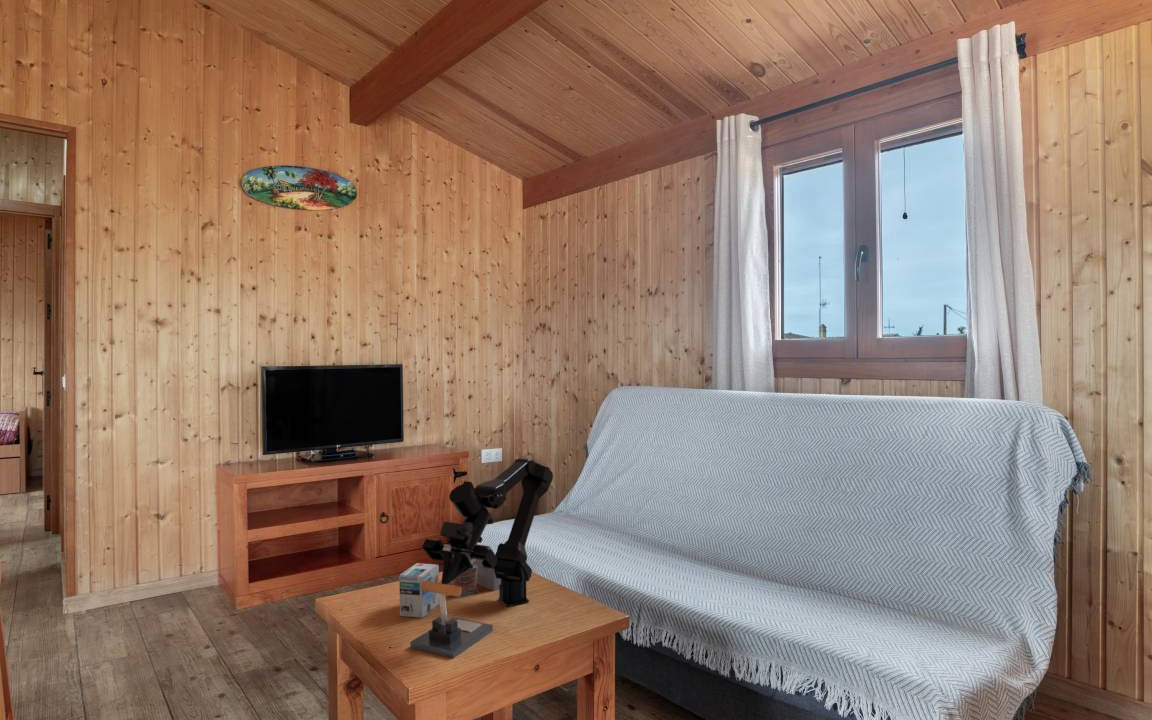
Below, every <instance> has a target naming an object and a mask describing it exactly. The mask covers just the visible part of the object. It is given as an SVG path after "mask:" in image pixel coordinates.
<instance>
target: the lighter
mask: <svg viewBox="0 0 1152 720" xmlns="http://www.w3.org/2000/svg"><path fill="white" fill-rule="evenodd" d="M473 563H475V560H474V562H473ZM477 569H478V566H477V565H473V568H472V569H468V570H466V571H465V572H463V573H462V574H460V575H459V576H458V577H456V578H455V579H454V580H453V581H451V582H450V583H449V585H454V586H460V587H461V588H462V593H461V595H460V596H459V597H457V596H452V595H448V596H449V597H450V598H462V597H470V596H475V595H477V594H479V590H478V584H477Z"/></svg>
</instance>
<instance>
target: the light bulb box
mask: <svg viewBox="0 0 1152 720" xmlns="http://www.w3.org/2000/svg"><path fill="white" fill-rule="evenodd" d="M439 569H440V568H439V564H435V563H434V564H432V563H421V562H420V563H419V562H417V563H415V564H414V565H412V566H410V567H409V568H407V569H406V570H405V571H403V572H402V573H400V574H399V577H398V578H399V579H398V580H399V616H400V617H405V618H406V617H407V618H408V617H409V618H418V619H423V618H424V617H425V616H427V615H428V614H429V613H430V612H431V611H433V609H434V608H436V607H437V606H438V605H440V602H439V593H435V592H429V591H424V590H422V589H421V584H422V582H423V581H431V582H437V583H440V582H439V578H440V577H439Z"/></svg>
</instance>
